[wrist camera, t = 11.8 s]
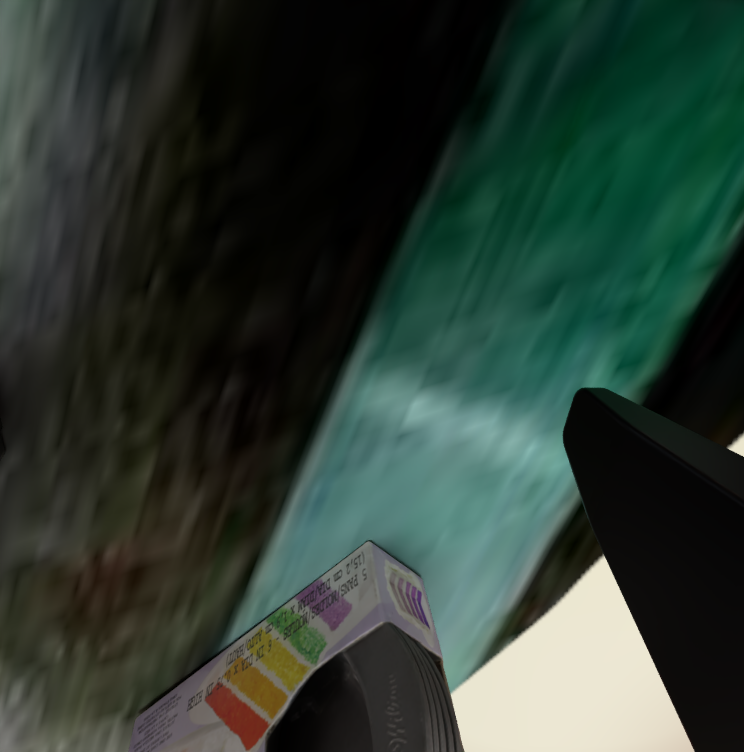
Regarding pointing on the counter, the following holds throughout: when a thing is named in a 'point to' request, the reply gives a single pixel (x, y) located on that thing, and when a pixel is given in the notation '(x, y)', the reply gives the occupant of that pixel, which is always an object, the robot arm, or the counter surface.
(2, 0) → the counter surface
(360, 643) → the cake pan box
